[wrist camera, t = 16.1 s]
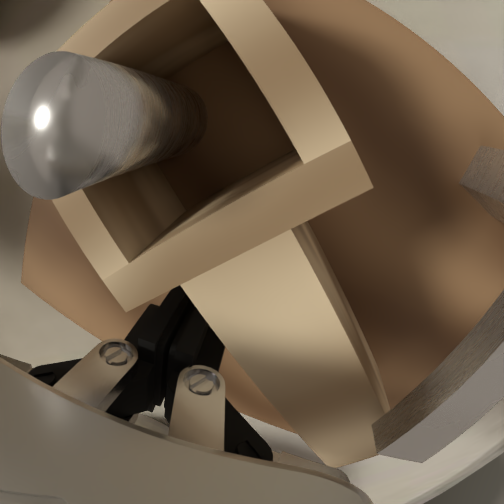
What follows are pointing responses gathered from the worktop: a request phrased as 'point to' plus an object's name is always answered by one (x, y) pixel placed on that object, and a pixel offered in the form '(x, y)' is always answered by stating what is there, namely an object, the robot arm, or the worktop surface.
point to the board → (346, 214)
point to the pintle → (93, 123)
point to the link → (241, 224)
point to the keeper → (455, 357)
